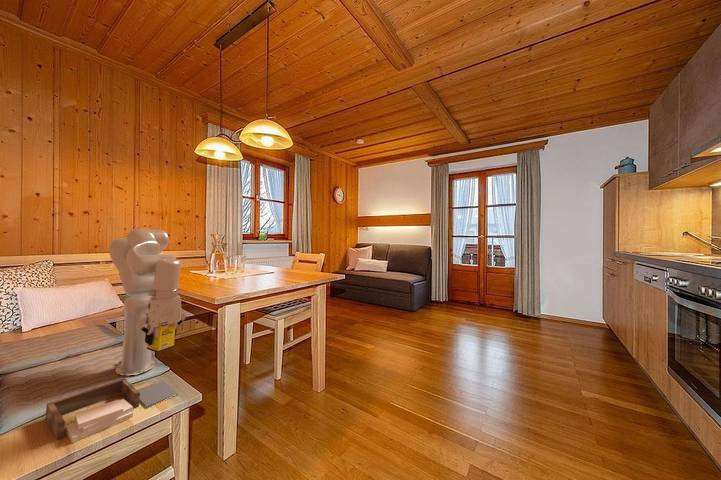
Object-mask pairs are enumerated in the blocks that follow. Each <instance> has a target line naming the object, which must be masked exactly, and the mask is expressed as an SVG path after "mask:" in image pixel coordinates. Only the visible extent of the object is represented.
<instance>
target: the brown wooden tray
mask: <svg viewBox="0 0 721 480" xmlns="http://www.w3.org/2000/svg"><path fill="white" fill-rule="evenodd" d="M119 395H121V396H122V397H123V399H124V400H125V401H127V402H128V403H129V404H130V405H132V406H133V409H137V408H139V405H140V401H139V398H140V392H139V391H138V390H137V388H136V387H135V386H133V385H132V384H131V382H129V381H128V379H126V378H125V377H124V378H120V379H118V380H113V381H111V382H108V383H104V384H102V385H99V386H96V387H93V388H89V389H87V390H84V391H80V392H78V393H74V394H71V395H68V396H65V397H63V398H62V397H61V398H59V399H55V400H52V401H50V402H47V403H46V408H45V409H46V410H45V420H46V422H47V424H48V426H49V428H50V429H51V431H52V433H53V435H54V437H55V438H56V440H57V441H59V440H61V439H63V438H64V435H65V426H66V425H65V424H66V421H65V419H64V417H63V416H64V415H66V414H69V413H72V412H75V411H77V410H80V409H83V408H86V407H89V406H91V405H94V404H97V403H100V402H102V401H105V400H108V399H112V398H114V397H116V396H119Z"/></svg>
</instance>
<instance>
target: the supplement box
mask: <svg viewBox="0 0 721 480" xmlns="http://www.w3.org/2000/svg"><path fill="white" fill-rule="evenodd" d="M175 328H176V323H174V324H169V323H168V322H167V321H165V322H160V323H159V327H155V328H154V330H153V331H152V334H153V341H152V345H148V344H147V349H148V350H151V352H154V353H159V354H160V353H162V352H165V351H168V350H169V349H173V348H174V347H175V339H176V336H175ZM174 338H175V339H174Z"/></svg>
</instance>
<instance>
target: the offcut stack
mask: <svg viewBox="0 0 721 480" xmlns="http://www.w3.org/2000/svg"><path fill="white" fill-rule="evenodd" d="M133 410H134V408H133V406H132V405H131V404H130V403H129V402H128V401H127V400H126V399H125V398H121V399H115V400H112V401H109V402H105V403H102V404H100V405H97V406H93V407H91V408H88V409H84V410H82V411H79V412H75V413H74V422H72V423H69V424H67V425H64V433H65V434H66V435H67V437H68V439H69V440H70V442H71V443H72V444H73V443H75V442H78V441H80V440H82V439H85V438H87V437H90V436H92V435H94V434H97V433H99V432H101V431H103V430H106V429H108V428H111V427H112V426H114V425H117V424H120V423H121V422H124V421H127V420H130V419H131V418H133V417H134V412H133ZM110 426H111V427H110Z"/></svg>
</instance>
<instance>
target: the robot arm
mask: <svg viewBox="0 0 721 480" xmlns="http://www.w3.org/2000/svg"><path fill="white" fill-rule="evenodd" d="M169 241H170V238H169V234H168V233H167V232H166V231H165V230H162V229H153V228H152V229H150V228H135V229H132V230H130V231H129V232H128V233H127V234H126V237H121V238H116V239H114V240H112V241H111V242H110V245H109V248H108V249H109V257H110V260H111V261H112V264H113V265H114V266H115V268H116V269H117V271H118V272H119V275H120V279H121V284H122V287H123V291H124V294H126V295H127V296H128V297H127V298H125V300H124V301H123V314H124V331H123V340H122V341H123V343H122V350H121V352H122V353H121V363H120V364H118V365H117V366H116V368H115V371H116V372H115V374H116V373H118V374H123V375H127V374H134V373H140V372H144V371H146V370H149V369H151V368H152V367H153V368H154V366H155V361H154V360H153V359H151V358H152V351H151V350H148V349H147V344H148V345H152V341H153V334H152V331H153V330H154V328H155V327H159V323H160V322H165V321H167V322H168V323H169V324H174V323H176V328H175V338H174V340H175V339H176V336H177V331H178V330H177V329H178V328H179V326H180V325H181V324H182V323H183V321H185V320H186V318H187V315H186V313H185V314H184V312H182V299H181V296H180V295H178V293H179V287H180V277H181V276H180V275H181V269H182V264H181V261H180V260H179V259H177V258H176V256H174V255H173V254H172V255H171V254H161V253H162V252H163V251H164V250H165V249H166V248H167V247H168V245H169ZM153 368H152V369H153ZM152 369H151V370H152ZM141 370H143V371H141ZM149 371H150V370H149ZM118 374H117V375H118Z"/></svg>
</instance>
